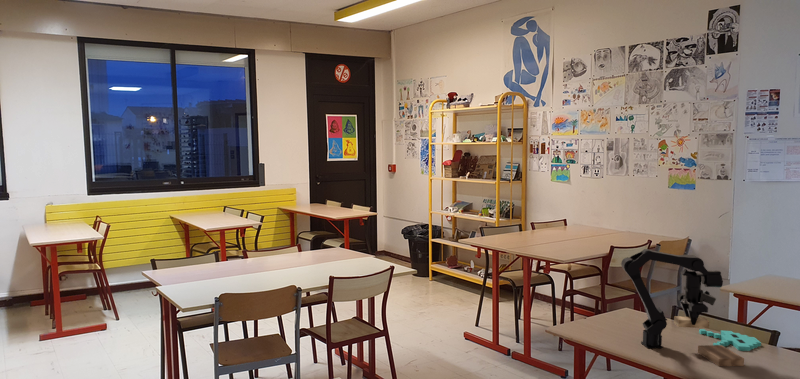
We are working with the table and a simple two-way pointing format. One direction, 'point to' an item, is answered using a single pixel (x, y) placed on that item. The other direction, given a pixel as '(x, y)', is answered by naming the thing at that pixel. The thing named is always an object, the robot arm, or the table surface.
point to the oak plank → (686, 322)
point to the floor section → (720, 355)
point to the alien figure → (733, 339)
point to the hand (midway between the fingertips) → (691, 322)
